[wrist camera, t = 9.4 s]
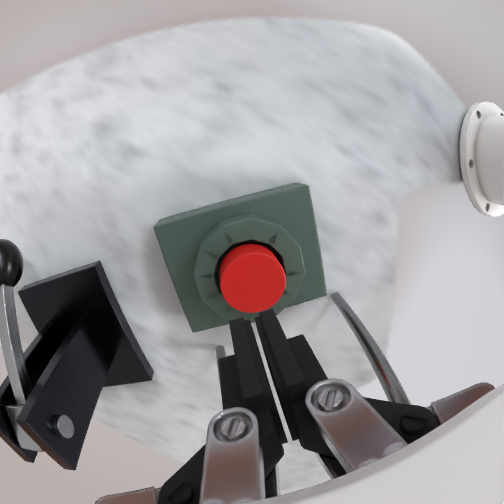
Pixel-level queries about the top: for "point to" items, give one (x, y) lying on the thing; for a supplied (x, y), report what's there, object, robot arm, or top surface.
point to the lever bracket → (71, 361)
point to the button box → (236, 234)
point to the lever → (13, 338)
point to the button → (251, 278)
